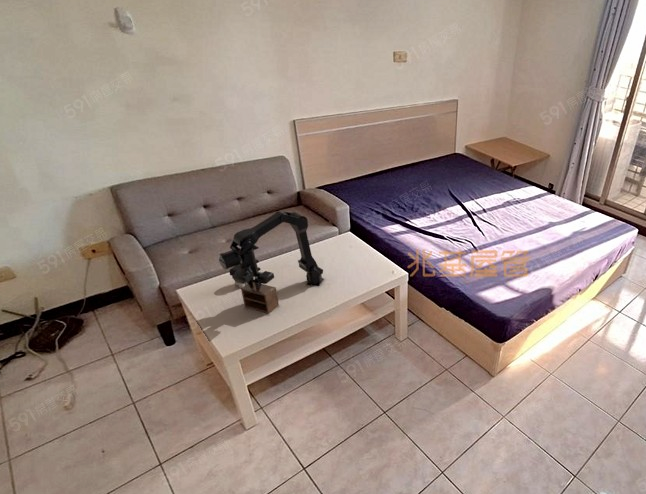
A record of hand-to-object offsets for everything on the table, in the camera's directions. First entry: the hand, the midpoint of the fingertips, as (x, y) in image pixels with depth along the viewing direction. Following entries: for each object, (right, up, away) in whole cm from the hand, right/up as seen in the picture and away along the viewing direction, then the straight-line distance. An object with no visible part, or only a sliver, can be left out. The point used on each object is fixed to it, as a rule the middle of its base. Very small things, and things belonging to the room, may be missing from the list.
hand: (255, 289), depth 184 cm
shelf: (+1, 0, +6) cm, 6 cm away
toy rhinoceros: (-15, +2, +22) cm, 27 cm away
